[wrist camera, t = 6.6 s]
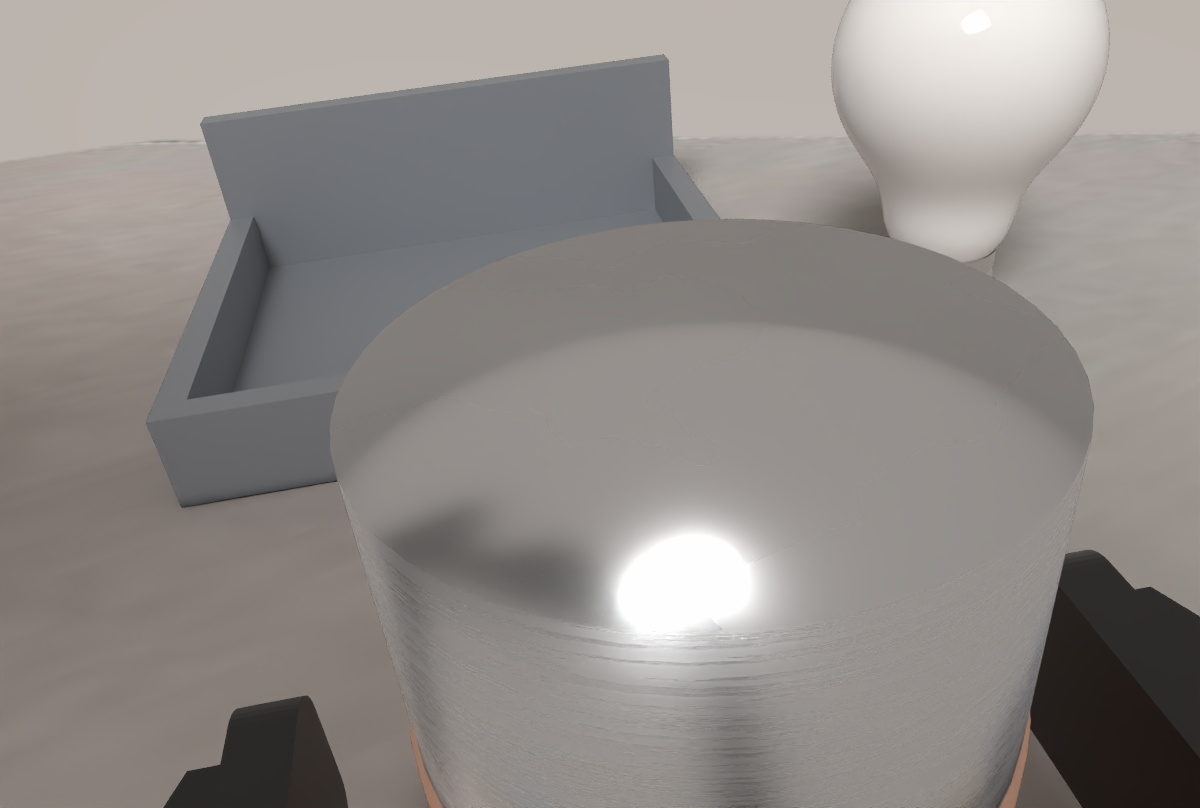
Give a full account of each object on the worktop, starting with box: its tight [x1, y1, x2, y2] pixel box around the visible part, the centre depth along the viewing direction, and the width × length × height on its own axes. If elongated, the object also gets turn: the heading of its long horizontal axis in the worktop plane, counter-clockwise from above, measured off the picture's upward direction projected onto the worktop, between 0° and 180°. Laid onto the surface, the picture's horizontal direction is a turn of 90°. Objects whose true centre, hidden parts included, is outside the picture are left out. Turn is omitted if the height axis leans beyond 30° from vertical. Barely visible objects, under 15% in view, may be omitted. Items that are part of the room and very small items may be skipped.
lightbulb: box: [831, 0, 1110, 277], centre depth 25 cm, size 6×6×11 cm
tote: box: [146, 54, 720, 507], centre depth 29 cm, size 16×14×6 cm
